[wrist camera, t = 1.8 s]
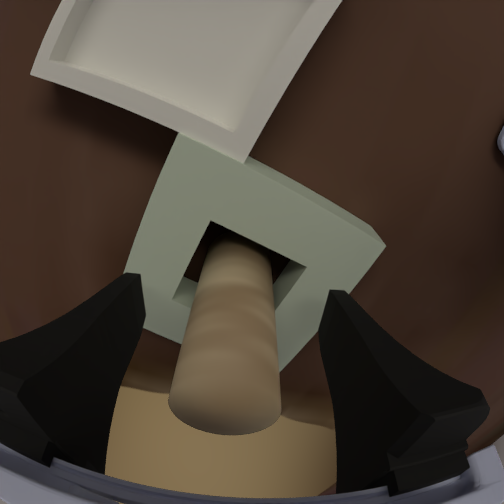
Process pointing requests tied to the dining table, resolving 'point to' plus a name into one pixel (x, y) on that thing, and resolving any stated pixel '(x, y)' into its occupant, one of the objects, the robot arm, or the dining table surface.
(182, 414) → the peg
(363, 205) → the dining table surface
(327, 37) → the dining table surface
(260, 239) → the holder
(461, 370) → the dining table surface
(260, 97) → the tray
